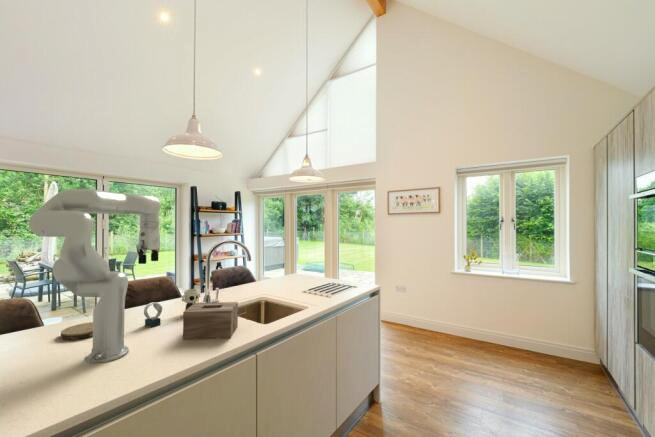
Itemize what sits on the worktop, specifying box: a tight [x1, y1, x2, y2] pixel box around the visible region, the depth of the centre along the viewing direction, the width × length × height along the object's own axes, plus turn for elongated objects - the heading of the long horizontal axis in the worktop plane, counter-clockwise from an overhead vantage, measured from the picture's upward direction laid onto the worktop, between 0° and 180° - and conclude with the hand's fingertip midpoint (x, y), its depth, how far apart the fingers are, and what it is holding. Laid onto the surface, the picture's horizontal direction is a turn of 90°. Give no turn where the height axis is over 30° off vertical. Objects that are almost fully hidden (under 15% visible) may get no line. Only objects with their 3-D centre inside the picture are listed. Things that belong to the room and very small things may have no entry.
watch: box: [143, 301, 163, 328], centre depth 142 cm, size 6×8×11 cm
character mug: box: [181, 288, 201, 311], centre depth 160 cm, size 11×7×13 cm, turn 148°
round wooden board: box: [60, 321, 93, 342], centre depth 131 cm, size 16×16×3 cm
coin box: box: [182, 301, 239, 341], centre depth 132 cm, size 14×20×12 cm
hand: (148, 262), depth 134 cm, fingers open, 9 cm apart
